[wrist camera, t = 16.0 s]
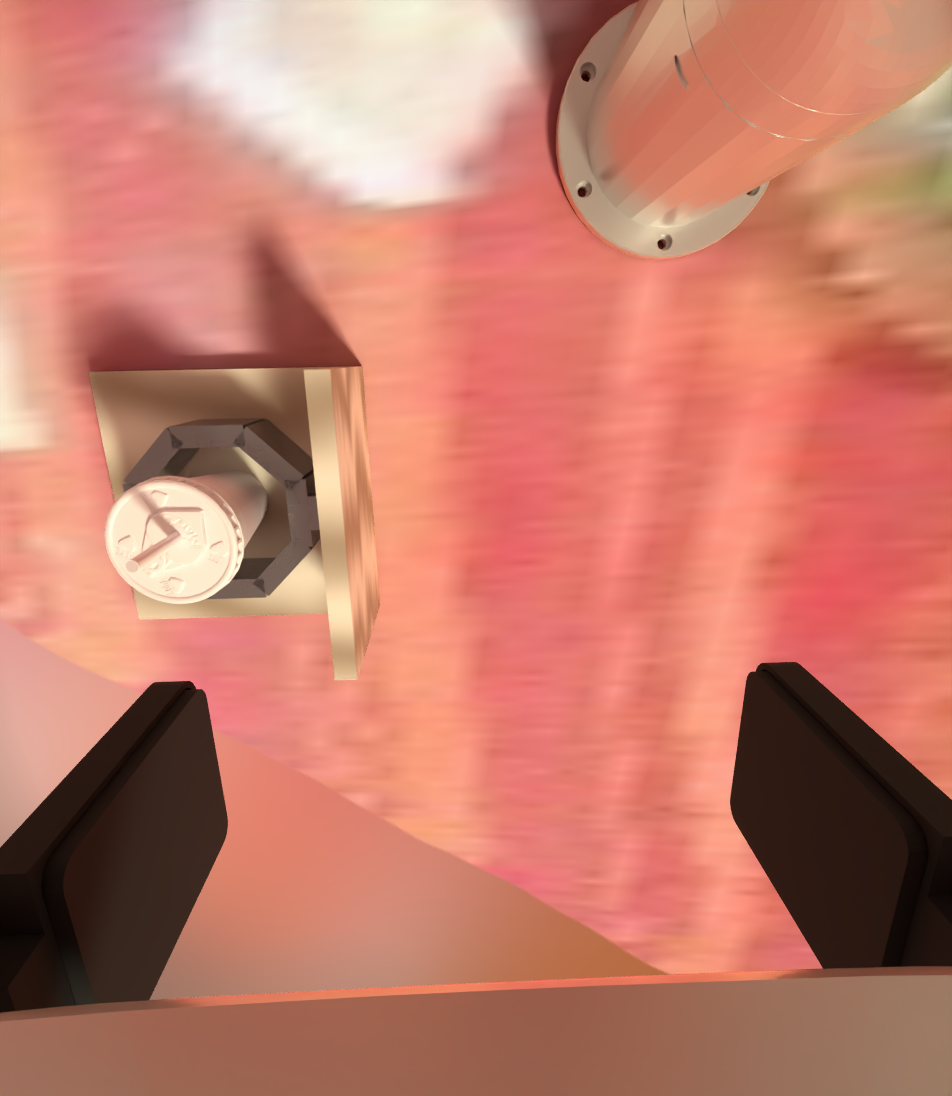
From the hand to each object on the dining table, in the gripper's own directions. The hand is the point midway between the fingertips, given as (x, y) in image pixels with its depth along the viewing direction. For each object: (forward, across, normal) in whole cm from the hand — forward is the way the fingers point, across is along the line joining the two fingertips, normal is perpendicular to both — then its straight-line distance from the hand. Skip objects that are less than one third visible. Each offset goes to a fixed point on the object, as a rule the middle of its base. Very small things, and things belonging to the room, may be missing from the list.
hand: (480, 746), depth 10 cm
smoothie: (+29, +14, +2) cm, 33 cm away
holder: (+30, +14, +2) cm, 33 cm away
